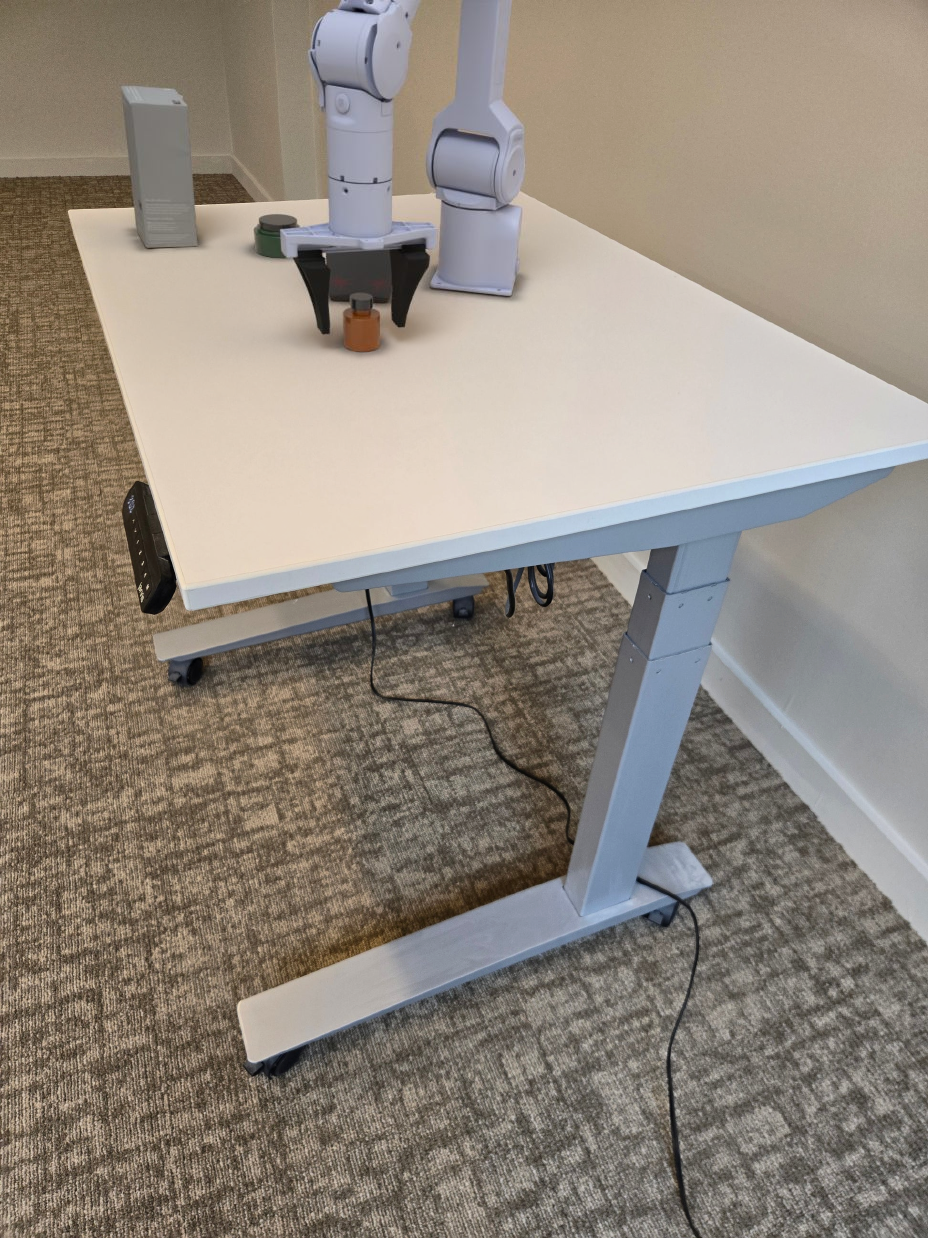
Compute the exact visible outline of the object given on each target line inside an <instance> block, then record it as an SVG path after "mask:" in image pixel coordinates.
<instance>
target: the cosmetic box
mask: <svg viewBox="0 0 928 1238" xmlns="http://www.w3.org/2000/svg"><path fill="white" fill-rule="evenodd" d="M120 93H121V94H120V95H121V101H122V102H121V103H122V111H123V120H124V128H125V138H126V146H127V155H128V164H129V173H130V174H129V175H130V183H131V191H132V201H133V202H132V203H133V211H134V219H135V220H134V221H135V227H136V231H137V234H138V235H139V238H140V239H141V241H142V244H143V245H144V246H145V247H146V248H149V249H150V248H180V247H183V248H184V247H186V248H187V247H198V246H199V242H198V231H197V230H198V229H197V219H196V204H195V189H194V177H193V176H194V175H193V163H192V147H191V146H192V145H191V133H190V132H191V131H190V120H189V119H190V118H189V117H190V116H189V107H188V104H187V103H186V102H185V101H184V100H183V98H184V96H183V95H182V94H179V92H178V91H177V90H176V89H175V88H170V87H169V88H168V87H151V86H140V85H121V86H120Z"/></svg>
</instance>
